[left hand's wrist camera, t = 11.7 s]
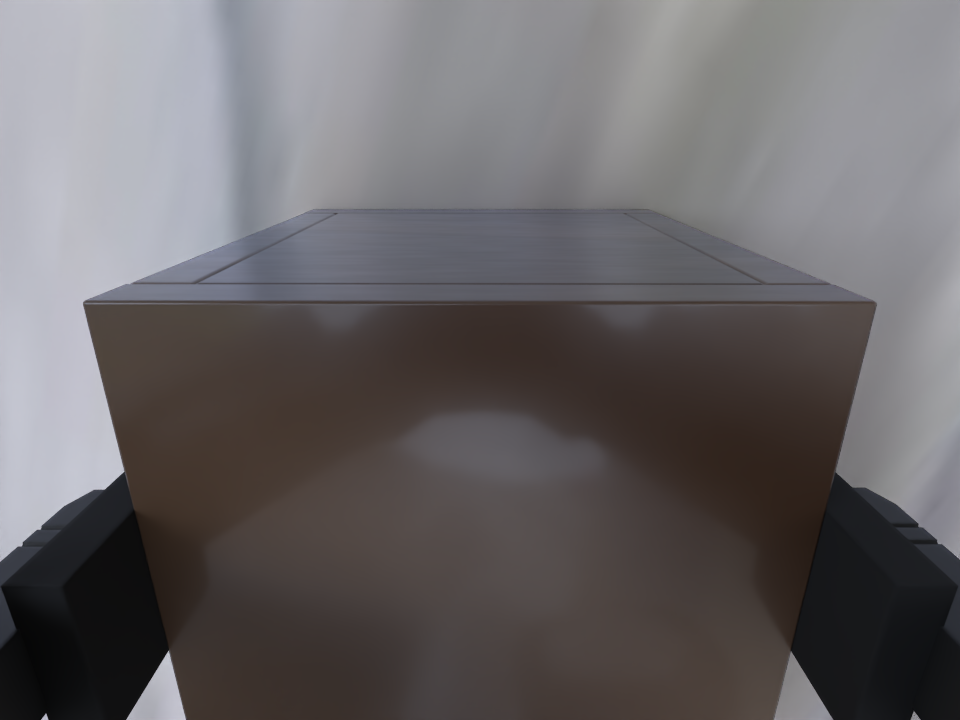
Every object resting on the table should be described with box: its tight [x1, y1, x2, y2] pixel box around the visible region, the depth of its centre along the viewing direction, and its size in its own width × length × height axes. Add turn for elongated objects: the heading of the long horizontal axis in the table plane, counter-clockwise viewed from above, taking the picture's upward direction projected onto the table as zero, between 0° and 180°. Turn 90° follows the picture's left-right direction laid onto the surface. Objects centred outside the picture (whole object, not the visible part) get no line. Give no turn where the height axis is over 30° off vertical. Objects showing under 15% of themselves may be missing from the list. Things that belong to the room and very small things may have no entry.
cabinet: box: [83, 209, 877, 720], centre depth 16 cm, size 20×10×11 cm, turn 0°
